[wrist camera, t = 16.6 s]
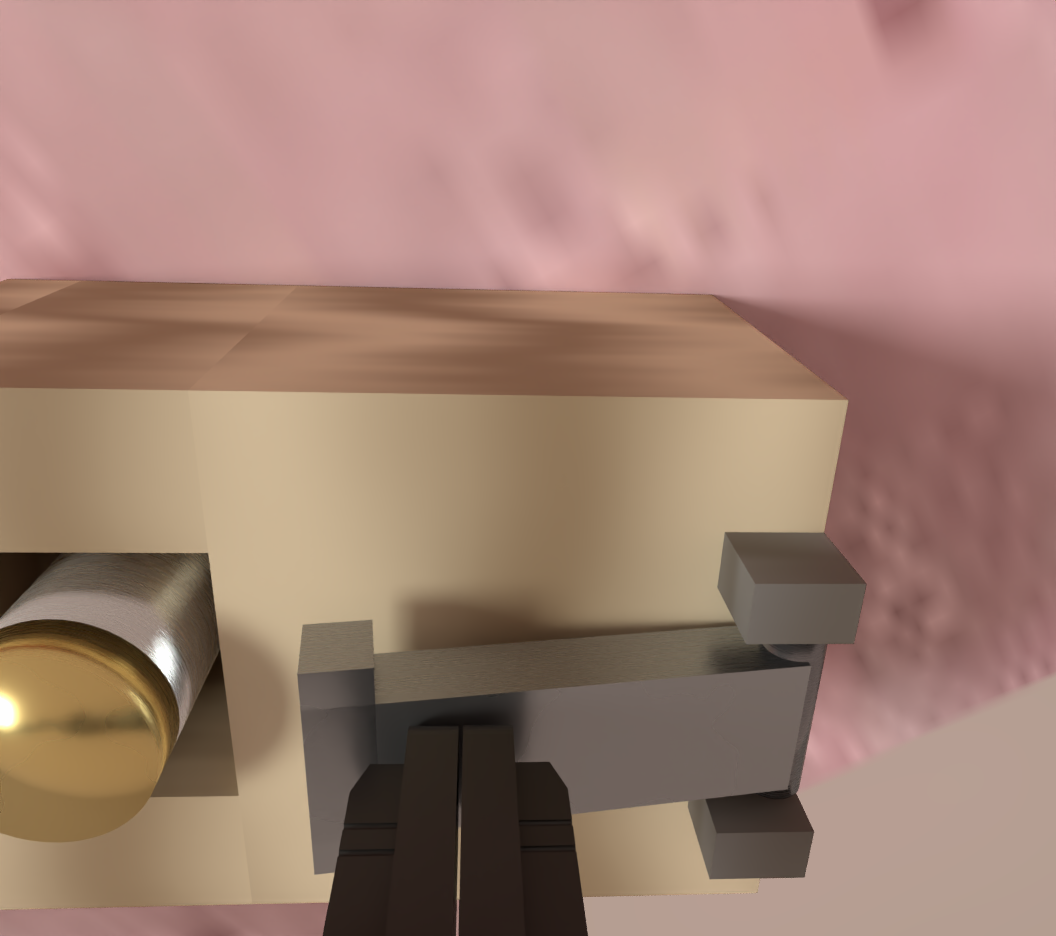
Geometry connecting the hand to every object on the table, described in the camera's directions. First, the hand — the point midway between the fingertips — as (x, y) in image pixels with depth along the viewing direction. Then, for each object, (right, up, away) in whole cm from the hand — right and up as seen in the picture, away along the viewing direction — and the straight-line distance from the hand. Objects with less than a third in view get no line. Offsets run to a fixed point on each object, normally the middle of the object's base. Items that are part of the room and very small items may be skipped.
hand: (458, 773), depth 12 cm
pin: (-7, +4, +9) cm, 12 cm away
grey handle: (+2, +1, +1) cm, 2 cm away
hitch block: (-3, +4, +9) cm, 10 cm away
